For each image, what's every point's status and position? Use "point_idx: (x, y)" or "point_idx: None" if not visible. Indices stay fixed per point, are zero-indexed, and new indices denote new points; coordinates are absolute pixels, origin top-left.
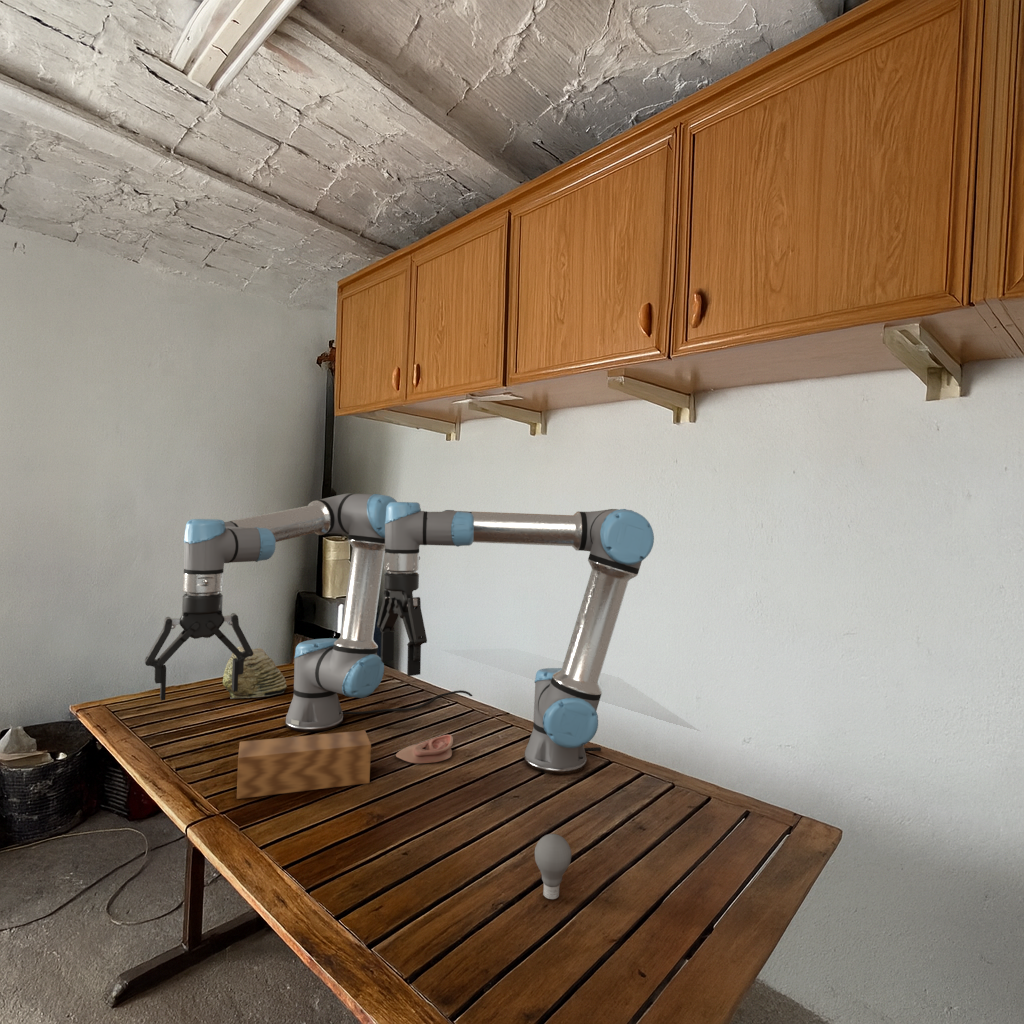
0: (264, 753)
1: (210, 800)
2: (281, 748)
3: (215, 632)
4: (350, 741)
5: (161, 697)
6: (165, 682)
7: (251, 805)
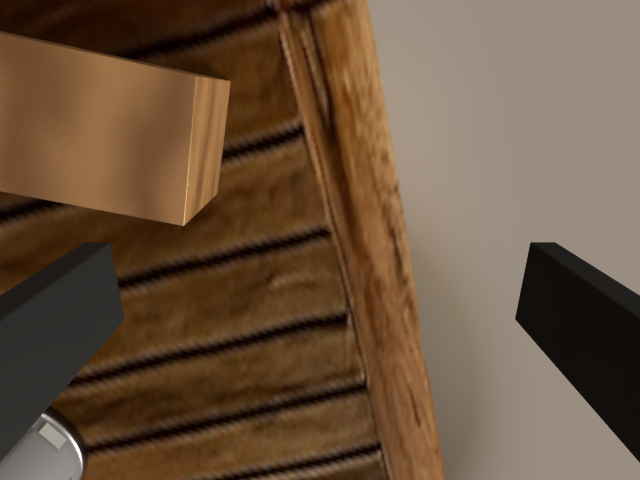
0: (103, 73)
1: (292, 107)
2: (41, 93)
3: None
4: None
5: (564, 250)
6: (616, 298)
7: (197, 20)
